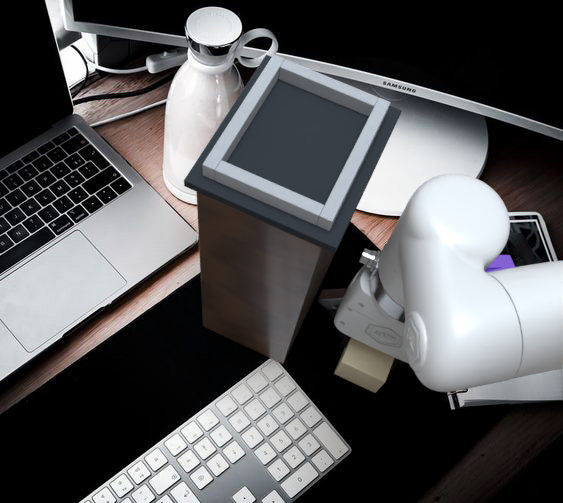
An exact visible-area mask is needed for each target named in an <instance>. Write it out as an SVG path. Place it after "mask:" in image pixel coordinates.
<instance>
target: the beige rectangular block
mask: <svg viewBox="0 0 563 503" xmlns="http://www.w3.org/2000/svg"><path fill="white" fill-rule="evenodd" d="M394 358H395V357H392V356H390V355H388V354H386V353H384V352H381V351H379V350H377V349H375V348H373V347H371V346H368V345H366V344H364V343H362V342H360V341H358V340H356V339H354V338H352V337H351V339H350V340H349V342H348V344H347V346H346V347H345V349H344V348H343V351H342V354H341V356H340V358H339V360H338V363H337V365H336V367H335V370H334V372H333V374H334V375H336V376H338V377H340V378H342V379H344V380H346V381H348V382H350V383H352V384H354V385H357V386H359V387H361V388H364V389H365V390H368V391H369V392H372V393H374V394H376V393H377V392H378V391H379V390H380V389H381V387H383V385H384V384H385V383H386V381H387V380H388V377H389V373H390V372H391V371H390V368H391V366H392V363H393V360H394Z"/></svg>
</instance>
